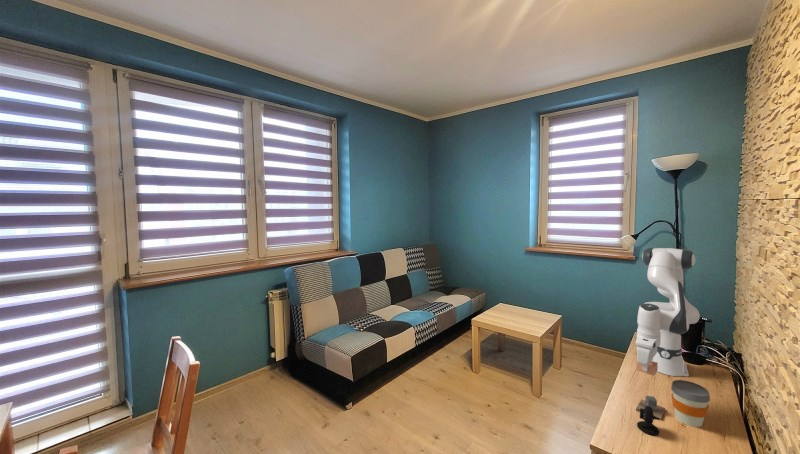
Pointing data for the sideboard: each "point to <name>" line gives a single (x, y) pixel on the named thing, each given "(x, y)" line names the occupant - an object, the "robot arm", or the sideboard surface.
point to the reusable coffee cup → (690, 402)
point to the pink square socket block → (651, 368)
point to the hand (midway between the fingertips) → (647, 367)
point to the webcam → (647, 421)
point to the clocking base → (656, 413)
